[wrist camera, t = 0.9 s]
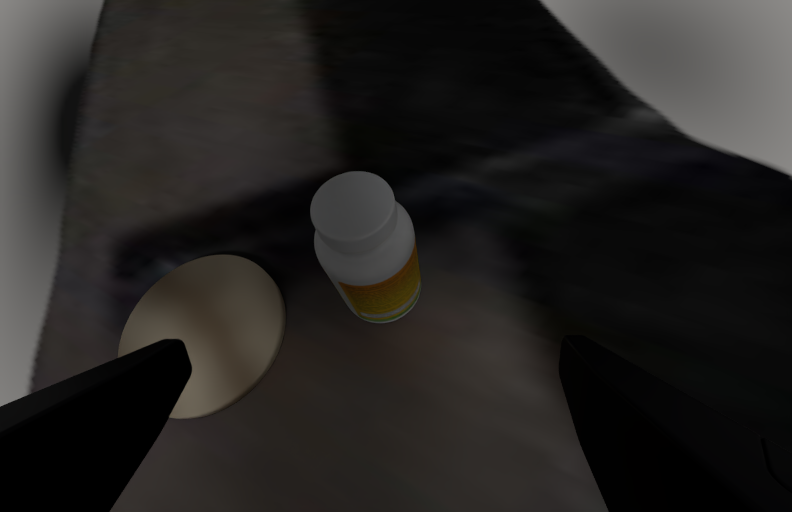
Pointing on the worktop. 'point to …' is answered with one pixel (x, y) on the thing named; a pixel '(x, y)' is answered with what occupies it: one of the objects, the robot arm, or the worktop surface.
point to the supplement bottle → (366, 246)
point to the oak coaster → (213, 328)
